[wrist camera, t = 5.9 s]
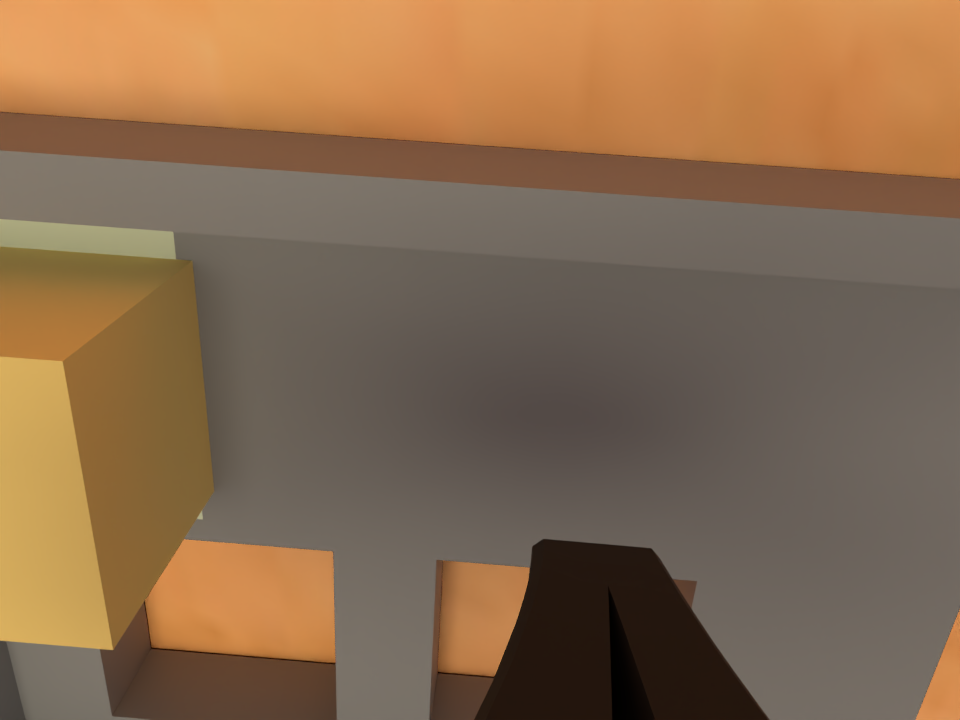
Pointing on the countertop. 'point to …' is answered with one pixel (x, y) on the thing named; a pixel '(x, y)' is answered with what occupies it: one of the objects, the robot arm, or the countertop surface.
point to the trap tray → (533, 399)
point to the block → (95, 438)
